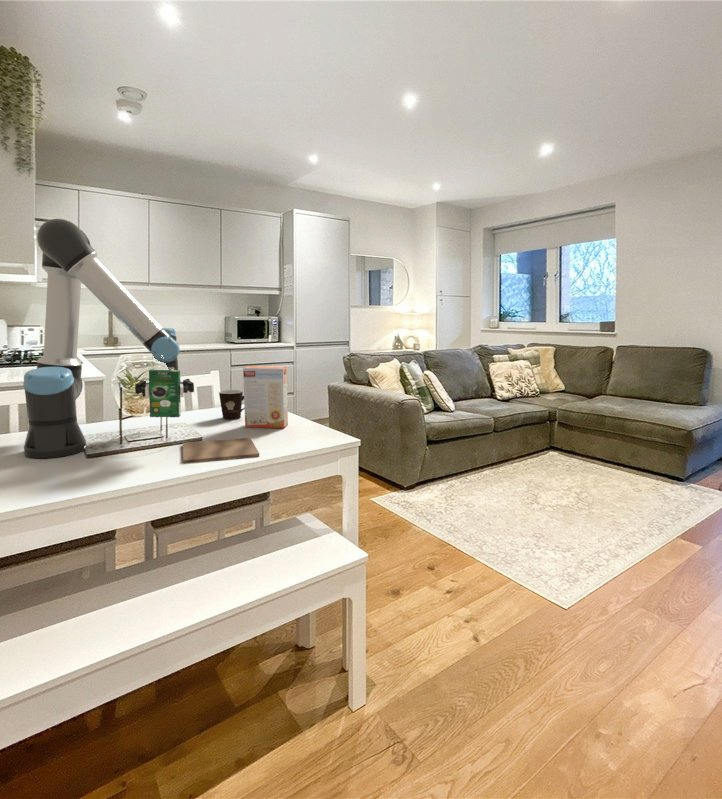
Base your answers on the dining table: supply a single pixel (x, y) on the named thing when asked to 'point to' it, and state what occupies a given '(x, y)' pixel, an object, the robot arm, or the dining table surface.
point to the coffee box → (164, 393)
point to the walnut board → (219, 450)
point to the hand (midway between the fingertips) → (164, 392)
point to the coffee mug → (231, 404)
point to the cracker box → (265, 396)
